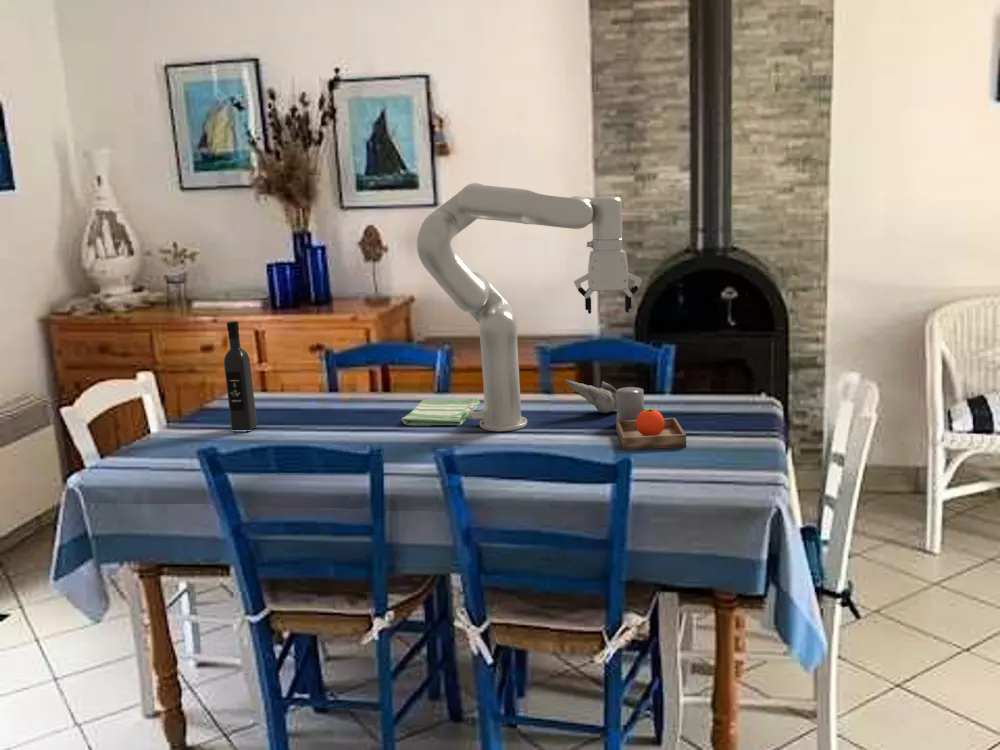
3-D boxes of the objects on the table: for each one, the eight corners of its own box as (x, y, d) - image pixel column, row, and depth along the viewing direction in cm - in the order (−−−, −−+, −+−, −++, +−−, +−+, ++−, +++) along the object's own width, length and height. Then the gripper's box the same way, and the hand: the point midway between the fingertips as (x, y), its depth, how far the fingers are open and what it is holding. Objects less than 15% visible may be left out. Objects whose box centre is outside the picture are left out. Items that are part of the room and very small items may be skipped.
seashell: (628, 416, 274) (627, 379, 271) (565, 417, 276) (563, 381, 274) (629, 406, 283) (628, 371, 281) (568, 407, 286) (566, 372, 284)
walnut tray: (623, 450, 245) (623, 438, 244) (616, 432, 260) (616, 421, 259) (686, 446, 245) (686, 434, 244) (675, 429, 259) (675, 417, 259)
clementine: (629, 434, 255) (628, 406, 253) (653, 430, 257) (653, 402, 255) (644, 442, 247) (644, 414, 246) (670, 438, 250) (669, 409, 248)
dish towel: (481, 405, 296) (480, 395, 295) (463, 427, 273) (462, 417, 273) (421, 405, 299) (421, 395, 299) (398, 427, 277) (398, 417, 276)
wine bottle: (249, 432, 278) (237, 323, 271) (230, 432, 279) (217, 324, 272) (258, 427, 283) (246, 320, 276) (239, 426, 284) (227, 320, 278)
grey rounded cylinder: (618, 428, 263) (617, 394, 261) (615, 421, 270) (614, 388, 268) (646, 427, 263) (645, 393, 261) (642, 419, 270) (641, 386, 268)
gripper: (574, 248, 257) (575, 315, 261) (643, 246, 257) (643, 313, 261) (572, 245, 265) (574, 310, 268) (640, 243, 264) (640, 308, 268)
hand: (608, 312), depth 264 cm, fingers open, 9 cm apart
